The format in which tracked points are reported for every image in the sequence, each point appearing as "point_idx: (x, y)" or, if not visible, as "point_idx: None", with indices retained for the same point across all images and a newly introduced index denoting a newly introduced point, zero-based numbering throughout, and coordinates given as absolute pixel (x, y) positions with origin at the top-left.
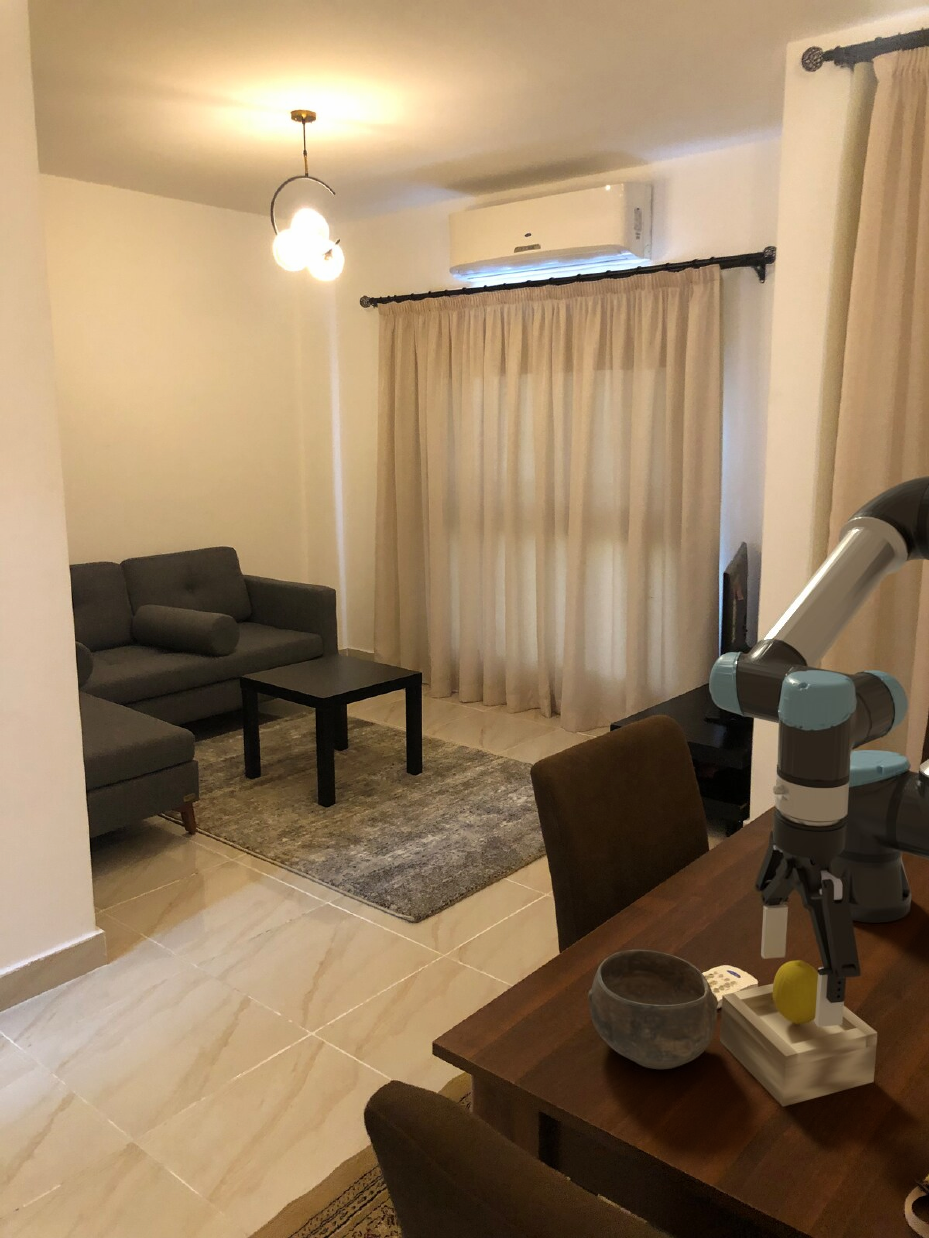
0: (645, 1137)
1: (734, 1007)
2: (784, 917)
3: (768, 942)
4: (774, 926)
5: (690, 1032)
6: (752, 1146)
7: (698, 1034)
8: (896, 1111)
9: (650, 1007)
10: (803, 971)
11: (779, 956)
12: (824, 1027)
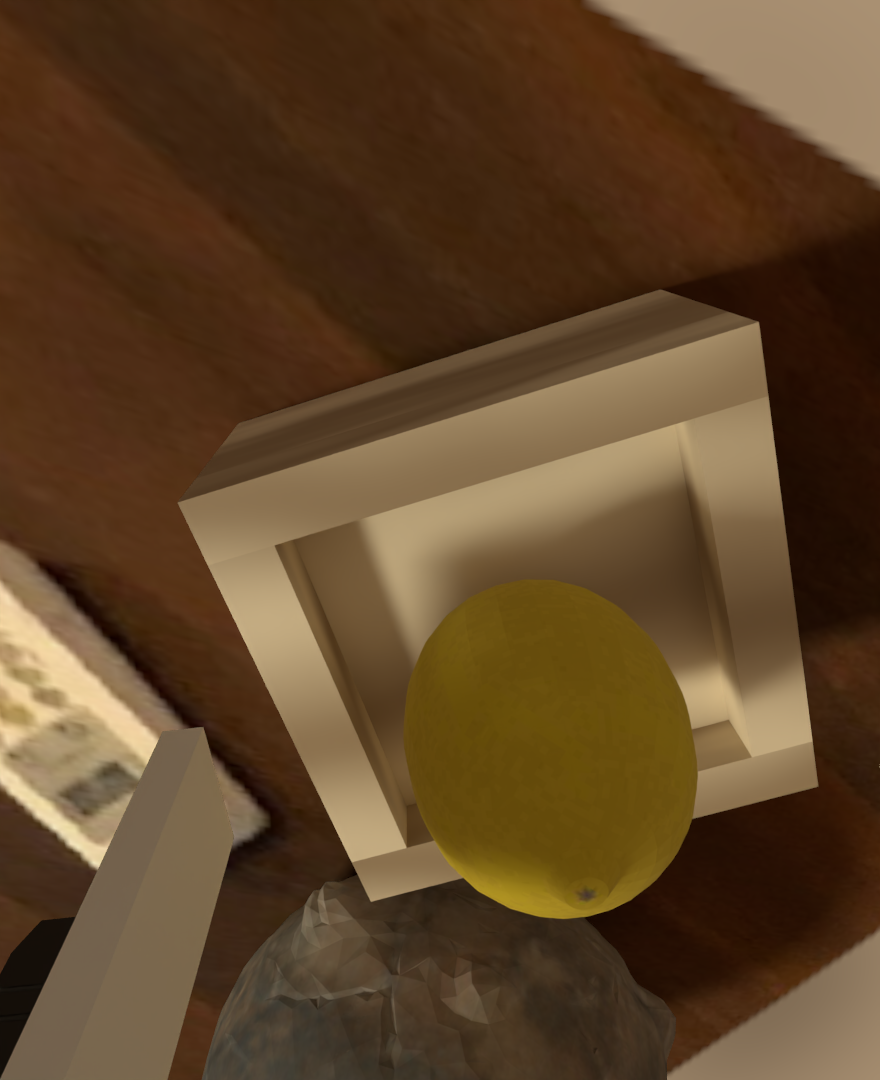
0: (762, 979)
1: (459, 875)
2: (104, 1012)
3: (200, 906)
4: (159, 997)
5: (662, 1067)
6: (860, 775)
7: (648, 1027)
8: (841, 275)
9: None
10: (647, 858)
11: (212, 762)
12: (554, 513)
